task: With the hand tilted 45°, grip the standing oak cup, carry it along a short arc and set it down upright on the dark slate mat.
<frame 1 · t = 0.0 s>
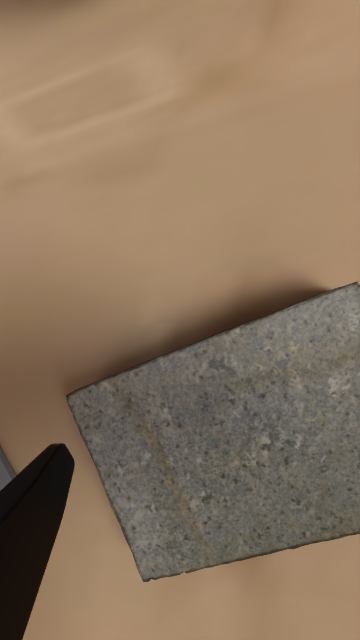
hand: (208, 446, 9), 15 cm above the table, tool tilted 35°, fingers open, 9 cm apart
stone block: (242, 423, 24), on the table
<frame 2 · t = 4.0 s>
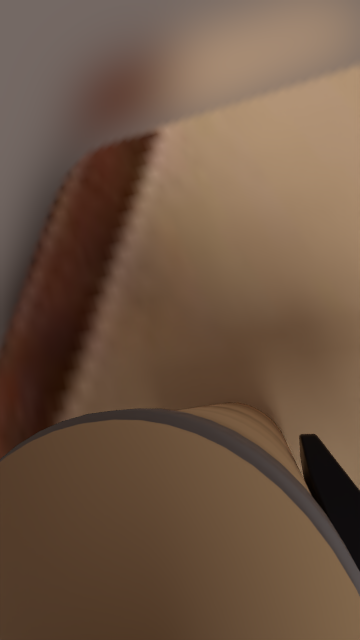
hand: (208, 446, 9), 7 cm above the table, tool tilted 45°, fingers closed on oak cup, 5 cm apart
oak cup: (233, 458, 15), on the table, touching gripper
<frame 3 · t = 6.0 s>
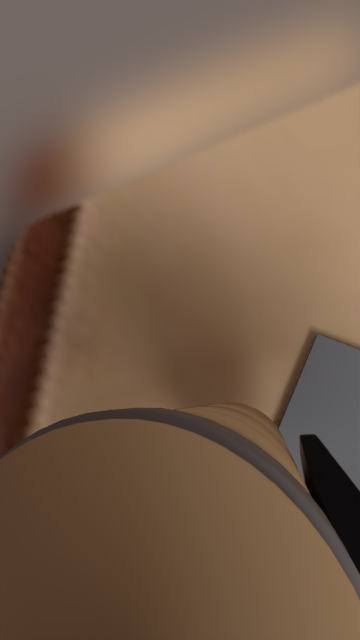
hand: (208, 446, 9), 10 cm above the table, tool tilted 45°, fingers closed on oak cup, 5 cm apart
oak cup: (233, 457, 15), point 4 cm above the table, touching gripper
when the fingers open (8 cm above the table, at t = 7.6 s): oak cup drops 1 cm, resting on slate mat.
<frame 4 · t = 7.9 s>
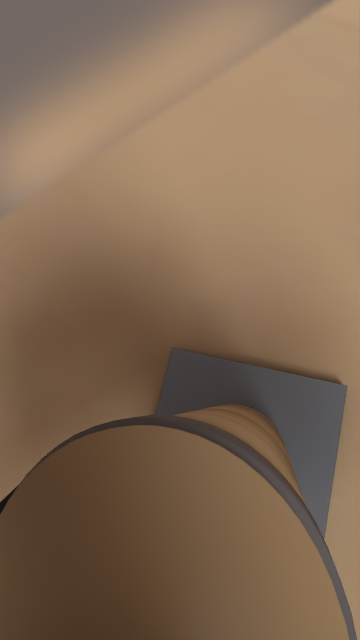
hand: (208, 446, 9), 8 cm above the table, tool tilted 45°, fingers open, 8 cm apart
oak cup: (234, 455, 16), point 1 cm above the table, touching slate mat
slate mat: (236, 452, 17), on the table
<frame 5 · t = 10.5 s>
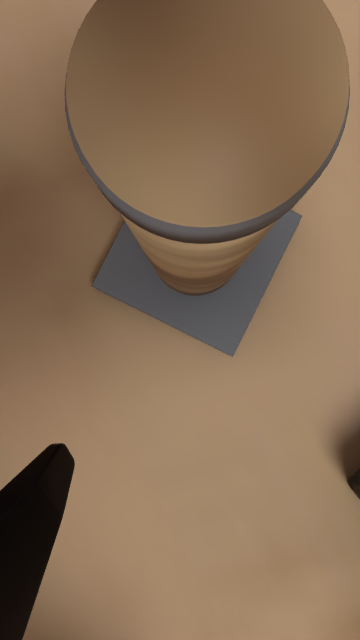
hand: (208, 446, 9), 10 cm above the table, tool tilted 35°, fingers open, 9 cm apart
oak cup: (195, 251, 19), point 1 cm above the table, touching slate mat
slate mat: (196, 253, 19), on the table
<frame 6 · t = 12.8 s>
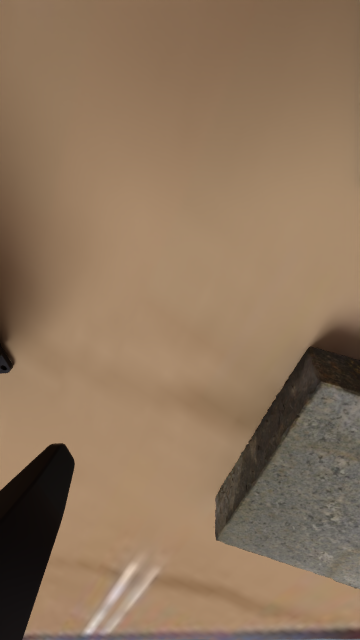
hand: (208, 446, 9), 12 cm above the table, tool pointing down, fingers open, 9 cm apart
stone block: (330, 449, 27), on the table
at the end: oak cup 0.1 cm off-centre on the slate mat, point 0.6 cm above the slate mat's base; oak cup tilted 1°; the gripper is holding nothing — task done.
